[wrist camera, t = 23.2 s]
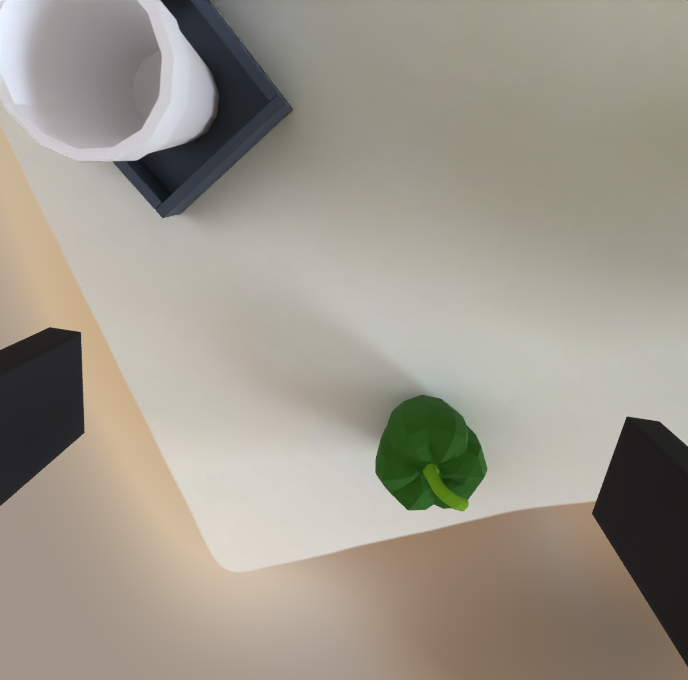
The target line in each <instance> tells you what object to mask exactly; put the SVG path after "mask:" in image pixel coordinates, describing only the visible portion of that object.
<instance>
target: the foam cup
mask: <svg viewBox="0 0 688 680" xmlns="http://www.w3.org/2000/svg"><path fill="white" fill-rule="evenodd" d="M0 98H1V101H2V103H3V105H4V108H5V110H6V111H7V112H8V113H9V114H10V115H11V116H12V117H13V118H14V119H15V120H16V121H17V122H18V123H19V124H20V125H21V126H22V127H23V128H24V129H25V130H26V132H27V133H28V134H29V135H30V136H31V137H32V138H33V139H34V140H35V141H36V142H37V143H38V144H40V145H42V146H45V147H47V148H49V149H51V150H54V151H56V152H58V153H60V154H63V155H65V156H67V157H69V158H72V159H74V160H76V161H91V162H109V161H136V160H139V159H140V158H142V157H144V156H145V155H147V154H148V153H152V152H156V151H159V150H163V149H167V148H171V147H174V146H178V145H182V144H186V143H189V142H192V141H194V140H195V139H197V138H199V137H200V136H202V135H204V134H205V133H207V132H208V130H209V129H210V127H211V125H212V123H213V122H214V120H215V118H216V117H217V112H218V102H219V93H218V89H217V86H216V83H215V80H214V76H213V74H212V73H211V71H210V69H209V68H208V67H207V65H206V64H205V63H204V62H203V60H202V59H201V58H200V56H199V55H198V54H197V52H196V51H195V50H194V48H193V47H192V46H191V45H190V43H189V42H188V41H187V39H186V38H185V37H184V35H183V34H182V33H181V31H180V30H179V26H178V23H177V20H176V19H175V18H174V16H173V15H172V14H171V13H170V12H169V10H168V9H167V8H166V7H165V6H164V4H163V3H162V2H161V1H160V0H0Z"/></svg>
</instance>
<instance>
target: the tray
mask: <svg viewBox="0 0 688 680" xmlns="http://www.w3.org/2000/svg"><path fill="white" fill-rule="evenodd" d="M160 1H161V2H162V3H163V4H164V6H165V7H166V8H167V9H168V10H169V12H170V13H171V14H172V15H173V16H174V18H175V19H176V20H177V23H178V26H179V30H180V31H181V33H182V34H183V35H184V37H185V38H186V39H187V41H188V42H189V43H190V45H191V46H192V47H193V48H194V50H195V51H196V52H197V54H198V55H199V56H200V58H201V59H202V60H203V62H204V63H205V64H206V65H207V67H208V68H209V69H210V71H211V73H212V74H213V76H214V80H215V83H216V86H217V89H218V93H219V102H218V112H217V117H216V118H215V120H214V122H213V123H212V125H211V127H210V129H209V130H208V132H207V133H205V134H204V135H202V136H200V137H199V138H197V139H195V140H194V141H192V142H189V143H186V144H182V145H178V146H174V147H171V148H167V149H163V150H159V151H156V152H152V153H148V154H147V155H145V156H144V157H142V158H140V159H139V160H136V161H113V163H114V164H115V165H116V166H117V167H118V168H119V169H120V171H121V172H122V173H123V174H124V175H125V176H126V177H127V178H128V180H129V181H130V182H131V183H132V184H133V185H134V186H135V187H136V189H137V190H138V191H139V192H140V193H141V194H142V195H143V196H144V198H145V199H146V200H147V201H148V202H149V203H150V204H151V205H152V207H153V208H154V209H156V211H157V212H158V213H159V214H160V216H161V217H162V218H165V217H169V216H174V215H179V214H181V213H182V212H183V211H184V210H185V209H186V208H187V207H188V206H189V205H191V204H192V203H193V202H194V201H195V200H196V199H197V198H198V197H199V196H200V195H201V194H202V193H204V192H205V191H206V190H207V189H208V188H209V187H210V186H211V185H212V184H213V183H214V182H215V181H217V180H218V179H219V178H220V177H221V176H222V175H223V174H224V173H225V172H226V171H227V170H228V169H229V168H231V167H232V166H233V165H234V164H235V163H236V162H237V161H238V160H239V159H240V158H241V157H242V156H244V155H245V154H246V153H247V152H248V151H249V150H250V149H251V148H252V147H253V146H254V145H255V144H256V143H258V142H259V141H260V140H261V139H262V138H263V137H264V136H265V135H266V134H267V133H268V132H269V131H271V130H272V129H273V128H274V127H275V126H276V125H277V124H278V123H279V122H280V121H281V120H282V119H284V118H285V117H286V116H287V115H288V114H289V113H290V112H291V111H292V110H293V108H292V107H291V106H290V105H289V103H288V102H287V101H286V99H285V98H284V97H283V95H282V94H281V93H280V92H279V90H278V89H277V88H276V86H275V85H274V84H273V82H272V81H271V80H270V79H269V77H268V76H267V75H266V73H265V72H264V71H263V69H262V68H261V67H260V66H259V64H258V63H257V62H256V60H255V59H254V58H253V56H252V55H251V54H250V53H249V51H248V50H247V49H246V47H245V46H244V45H243V43H242V42H241V41H240V40H239V38H238V37H237V36H236V34H235V33H234V32H233V30H232V29H231V28H230V27H229V25H228V24H227V23H226V21H225V20H224V19H223V17H222V16H221V15H220V14H219V12H218V11H217V10H216V8H215V7H214V6H213V4H212V3H211V2H210V1H209V0H160Z"/></svg>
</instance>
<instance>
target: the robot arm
mask: <svg viewBox="0 0 688 680" xmlns="http://www.w3.org/2000/svg"><path fill="white" fill-rule="evenodd" d="M82 381H83V379H82V351H81V332H76V331H70V330H63V329H57V328H47V329H45V330H43V331H41V332H39V333H36V334H34V335H32V336H30V337H28V338H26V339H24V340H21V341H19V342H17V343H15V344H13V345H10V346H8V347H6V348H4V349H2V350H0V505H2V504H3V503H4V502H5V501H7V500H8V499H9V498H10V497H11V496H12V495H13V494H14V493H16V492H17V491H18V490H19V489H20V488H21V487H22V486H23V485H25V484H26V483H27V482H28V481H29V480H31V479H32V478H33V477H34V476H35V475H36V474H38V473H39V472H40V471H41V470H42V469H43V468H44V467H46V466H47V465H48V464H49V463H50V462H51V461H52V460H54V459H55V458H56V457H57V456H58V455H59V454H61V453H62V452H63V451H64V450H65V449H66V448H67V447H69V446H70V445H71V444H72V443H73V442H74V441H75V440H77V439H78V438H79V437H80V436H81V435H82V434H84V408H83V382H82ZM592 514H593V516H594V518H595V519H596V521H597V522H598V524H599V526H600V527H601V529H602V530H603V532H604V533H605V535H606V537H607V538H608V540H609V542H610V543H611V545H612V546H613V548H614V550H615V551H616V553H617V554H618V556H619V557H620V559H621V561H622V562H623V564H624V566H625V567H626V569H627V570H628V572H629V573H630V575H631V577H632V578H633V580H634V582H635V583H636V585H637V586H638V588H639V590H640V591H641V593H642V594H643V596H644V597H645V599H646V601H647V602H648V604H649V605H650V607H651V609H652V610H653V612H654V613H655V615H656V617H657V618H658V620H659V621H660V623H661V625H662V626H663V628H664V629H665V631H666V632H667V634H668V636H669V637H670V639H671V641H672V642H673V644H674V645H675V647H676V649H677V650H678V652H679V653H680V655H681V657H682V658H683V660H684V661H685V663H686V665H687V666H688V446H687V445H685V444H684V443H683V442H682V441H681V440H680V439H679V438H677V437H676V436H675V435H674V434H673V433H672V432H671V431H670V430H668V429H667V428H666V427H665V426H664V425H663V424H662V423H660V422H659V421H652V420H646V419H639V418H633V417H626V420H625V423H624V426H623V428H622V431H621V434H620V437H619V440H618V442H617V445H616V448H615V451H614V454H613V456H612V459H611V462H610V465H609V467H608V470H607V473H606V476H605V479H604V481H603V484H602V487H601V490H600V492H599V495H598V498H597V501H596V504H595V506H594V509H593V512H592Z"/></svg>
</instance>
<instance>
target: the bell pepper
mask: <svg viewBox="0 0 688 680" xmlns="http://www.w3.org/2000/svg"><path fill="white" fill-rule="evenodd" d="M486 472H487V466H486V463H485V459H484V455H483V452H482V448H481V445H480V443H479V441H478V439H477V436H476V434H475V433H474V432H473V431H472V430H471V429H470V428H469V427H468V426H467V425H466V423H465V421H464V419H463V417H462V416H461V415H460V414H459V413H458V412H457V411H456V410H455V409H453V408H452V407H451V406H449V405H448V404H447V403H445V402H444V401H443V400H441V399H439V398H434V397H429V396H425V395H420V396H418V397H415V398H412V399H409V400H406V401H404V402H403V403H402V404H400V405H399V406H398V407H397V408H396V409H394V410H393V412H392V414H391V416H390V418H389V421H388V425H387V426H386V428H385V430H384V433H383V435H382V438H381V440H380V444H379V448H378V452H377V456H376V474H377V476H378V477H379V479H380V480H381V482H382V483H383V485H384V486H385V488H386V489H387V490H388V491H389V492H390V493H391V494H392V495H393V496H394V497H395V498H396V499H397V500H398V501H399V502H400V503H401V504H402V505H403V506H404V507H405V508H406V509H407V510H426V509H427V508H429V507H430V506H432V505H433V504H435V505H437V506H439V507H441V508H443V509H444V508H453V509H456V510H459V511H464V510H465V509H466V508H467V507H468V499H469V497H470V496H471V495H472V493H473V492H474V491H475V489H476V488H477V487H478V485H479V484H480V483H481V481H482V480H483V478H484V477H485V474H486Z"/></svg>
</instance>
